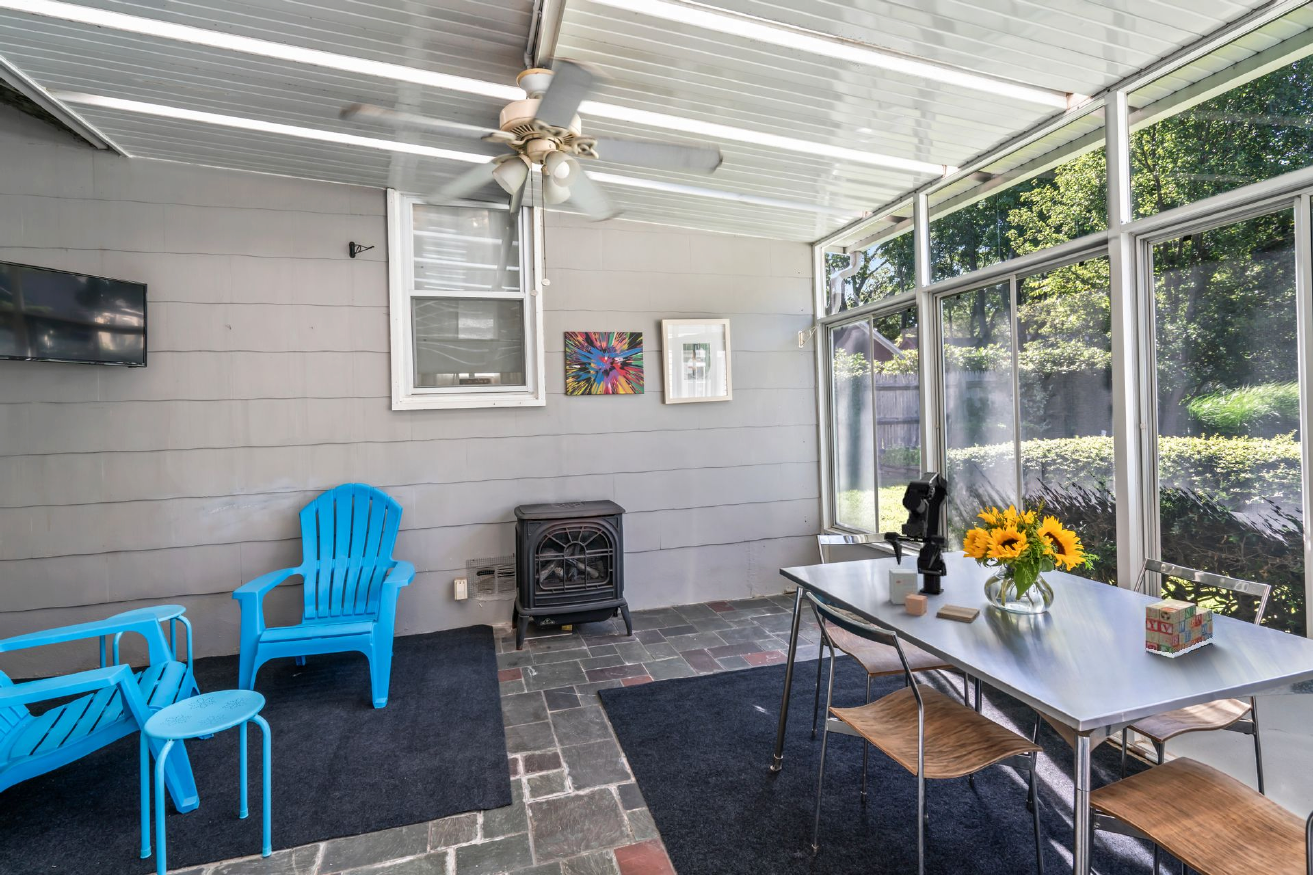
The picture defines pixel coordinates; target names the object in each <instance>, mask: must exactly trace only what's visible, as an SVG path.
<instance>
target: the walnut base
mask: <svg viewBox="0 0 1313 875" xmlns="http://www.w3.org/2000/svg"><path fill="white" fill-rule="evenodd" d="M980 613H981V609H978V608H971V607H965V606H964V607H963V606H958V605H951V604H944V606H943V605H942V607H941V608H939V610H937V611H936V618H939V619H940V618H941V619H946V620H952V621H958V622H959V621H960V622H963V621H965V622H964V623H969V624H972V623H973V622H974V621H975V620H976V619H977V618H978V617H979V616H980Z"/></svg>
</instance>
